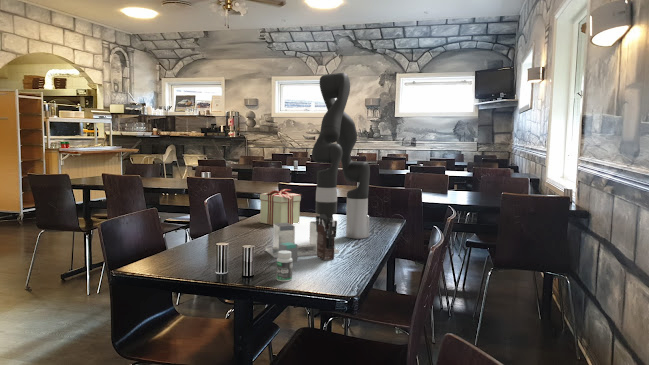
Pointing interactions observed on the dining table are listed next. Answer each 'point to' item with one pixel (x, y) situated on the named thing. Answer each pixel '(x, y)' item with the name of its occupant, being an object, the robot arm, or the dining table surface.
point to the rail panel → (293, 239)
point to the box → (324, 244)
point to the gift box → (280, 207)
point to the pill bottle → (284, 266)
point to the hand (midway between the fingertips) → (325, 246)
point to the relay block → (289, 249)
